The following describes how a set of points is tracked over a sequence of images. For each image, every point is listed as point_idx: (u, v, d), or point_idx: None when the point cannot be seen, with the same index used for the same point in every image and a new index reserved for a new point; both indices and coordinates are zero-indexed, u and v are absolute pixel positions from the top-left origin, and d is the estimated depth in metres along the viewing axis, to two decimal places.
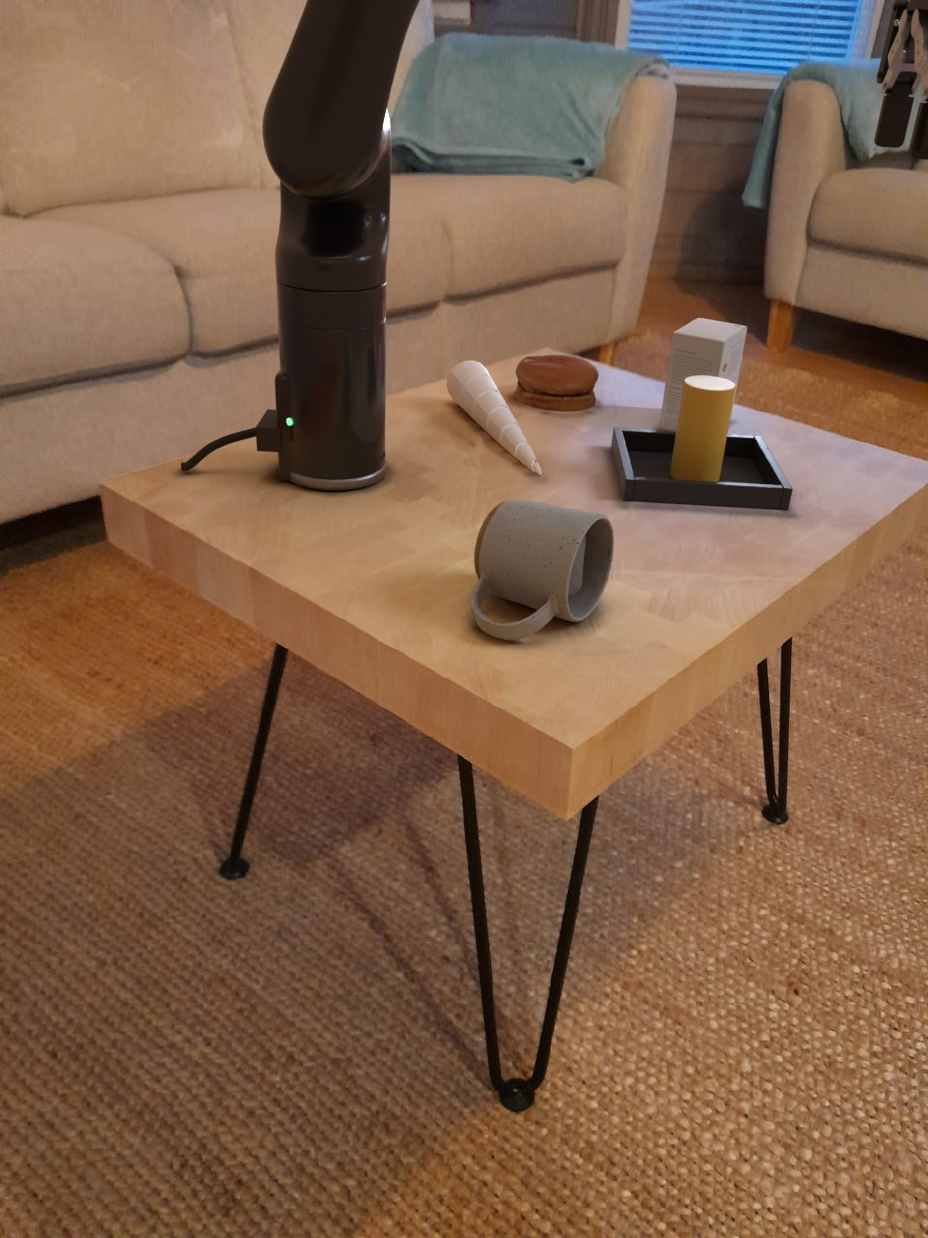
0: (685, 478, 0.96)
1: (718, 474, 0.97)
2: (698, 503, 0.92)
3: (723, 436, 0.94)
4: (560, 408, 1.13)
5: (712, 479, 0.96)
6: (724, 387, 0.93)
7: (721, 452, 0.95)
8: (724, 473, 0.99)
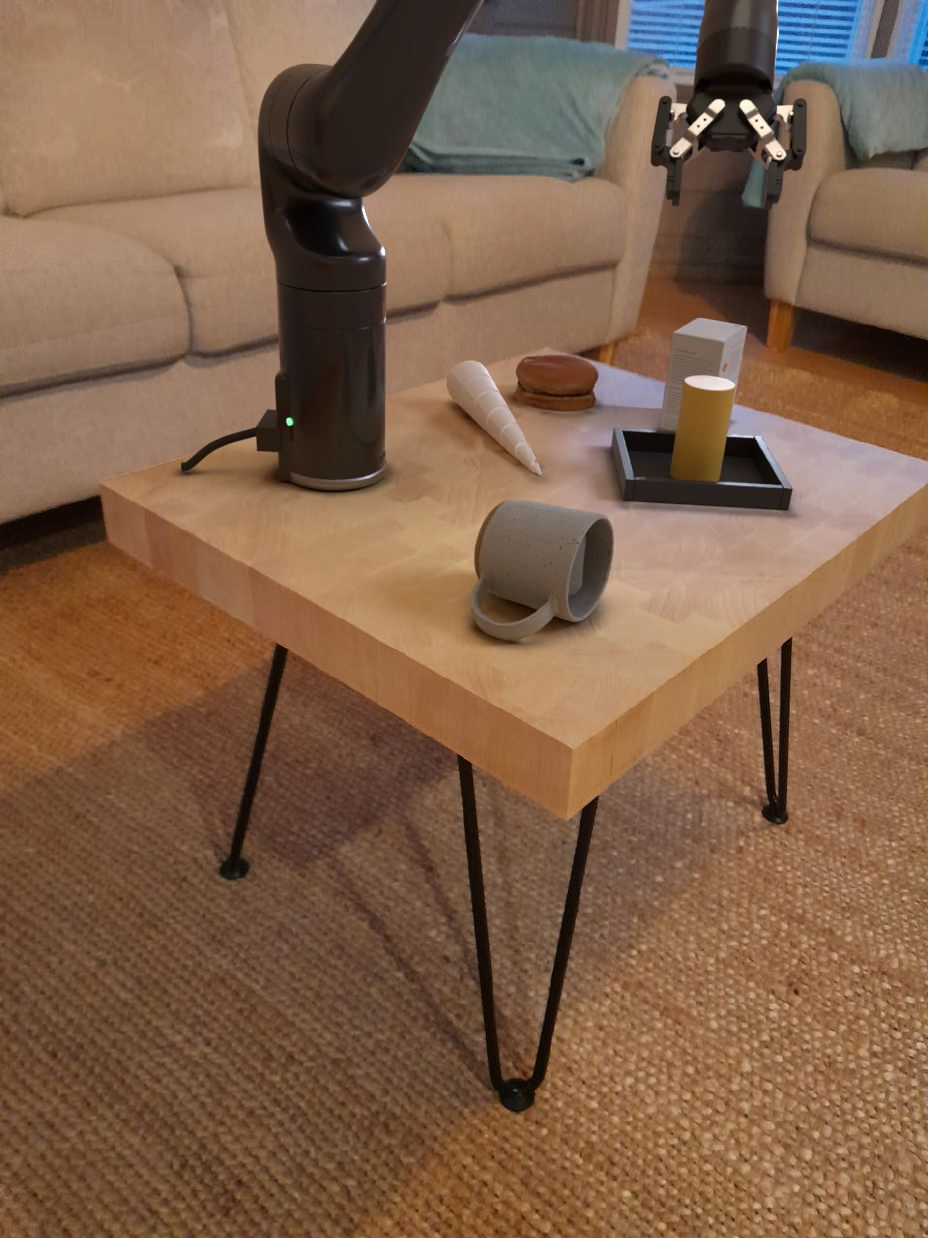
0: (685, 478, 0.96)
1: (718, 474, 0.97)
2: (698, 503, 0.92)
3: (723, 436, 0.94)
4: (560, 408, 1.13)
5: (712, 479, 0.96)
6: (724, 387, 0.93)
7: (721, 452, 0.95)
8: (724, 473, 0.99)
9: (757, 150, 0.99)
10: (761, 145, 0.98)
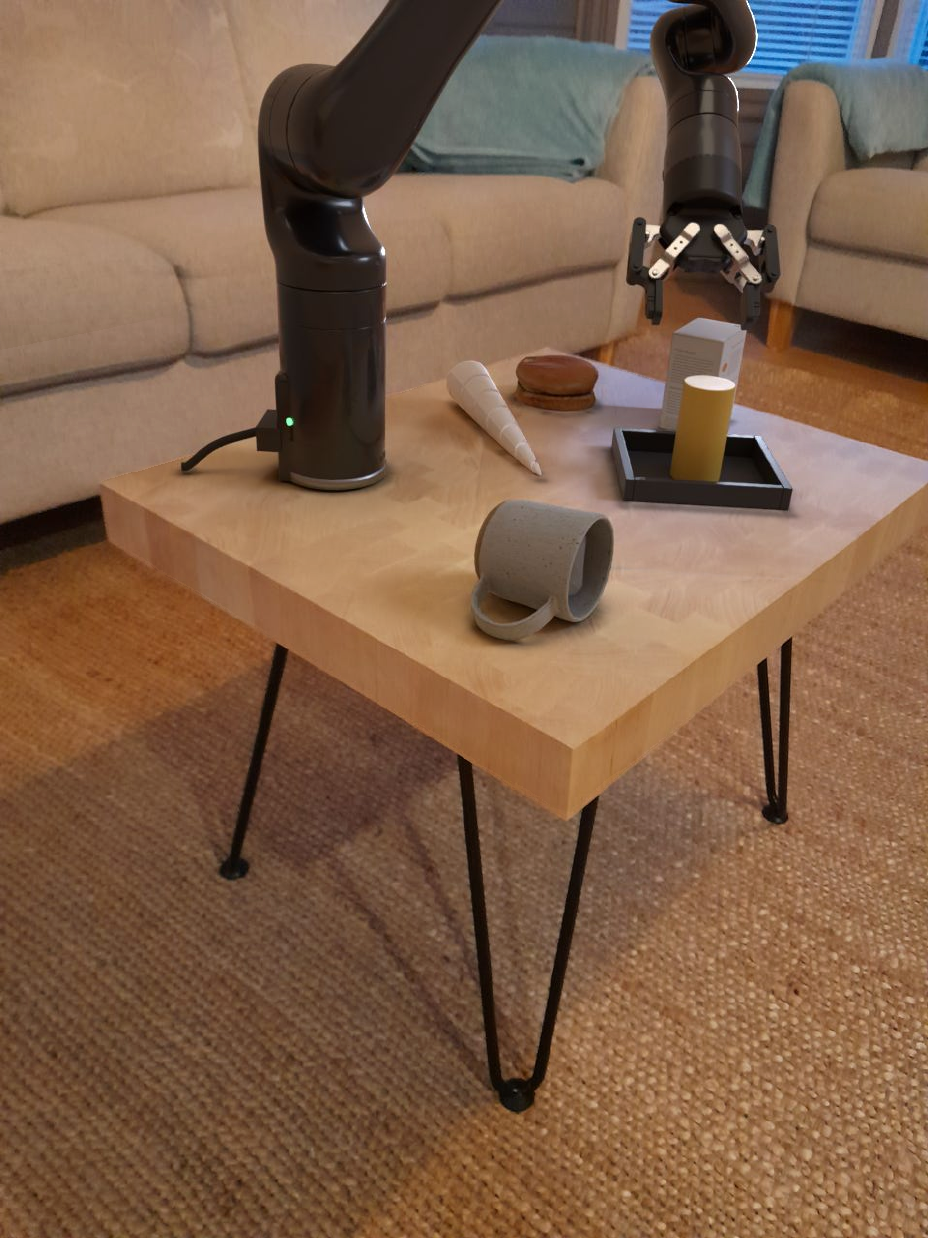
0: (685, 478, 0.96)
1: (718, 474, 0.97)
2: (698, 503, 0.92)
3: (723, 436, 0.94)
4: (560, 408, 1.13)
5: (712, 479, 0.96)
6: (724, 387, 0.93)
7: (721, 452, 0.95)
8: (724, 473, 0.99)
9: (730, 273, 1.00)
10: (736, 268, 0.99)
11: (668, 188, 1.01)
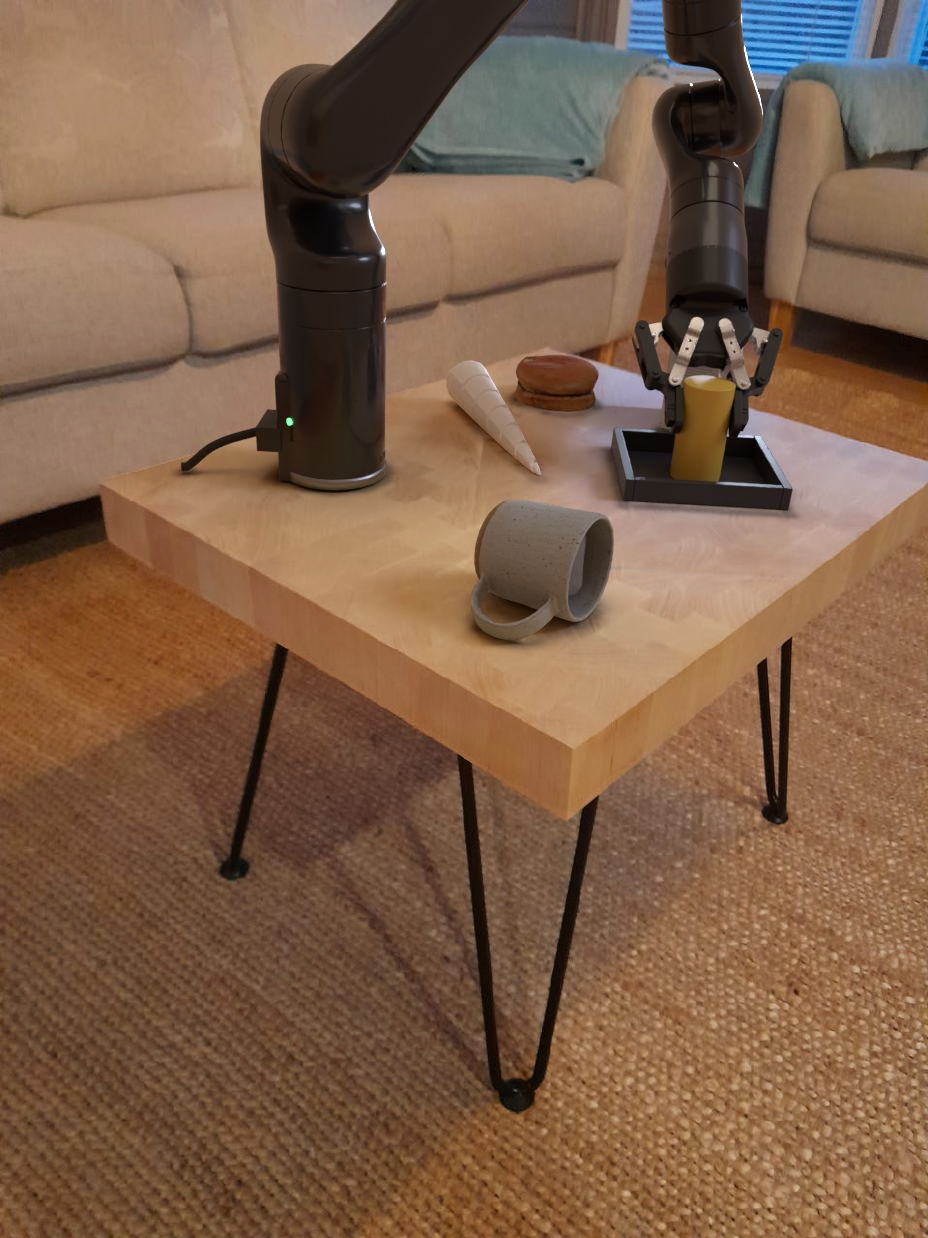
0: (685, 478, 0.96)
1: (718, 474, 0.97)
2: (698, 503, 0.92)
3: (723, 436, 0.94)
4: (560, 408, 1.13)
5: (712, 479, 0.96)
6: (724, 386, 0.93)
7: (721, 452, 0.95)
8: (724, 473, 0.99)
9: (724, 370, 0.96)
10: (729, 368, 0.95)
11: (671, 279, 0.97)
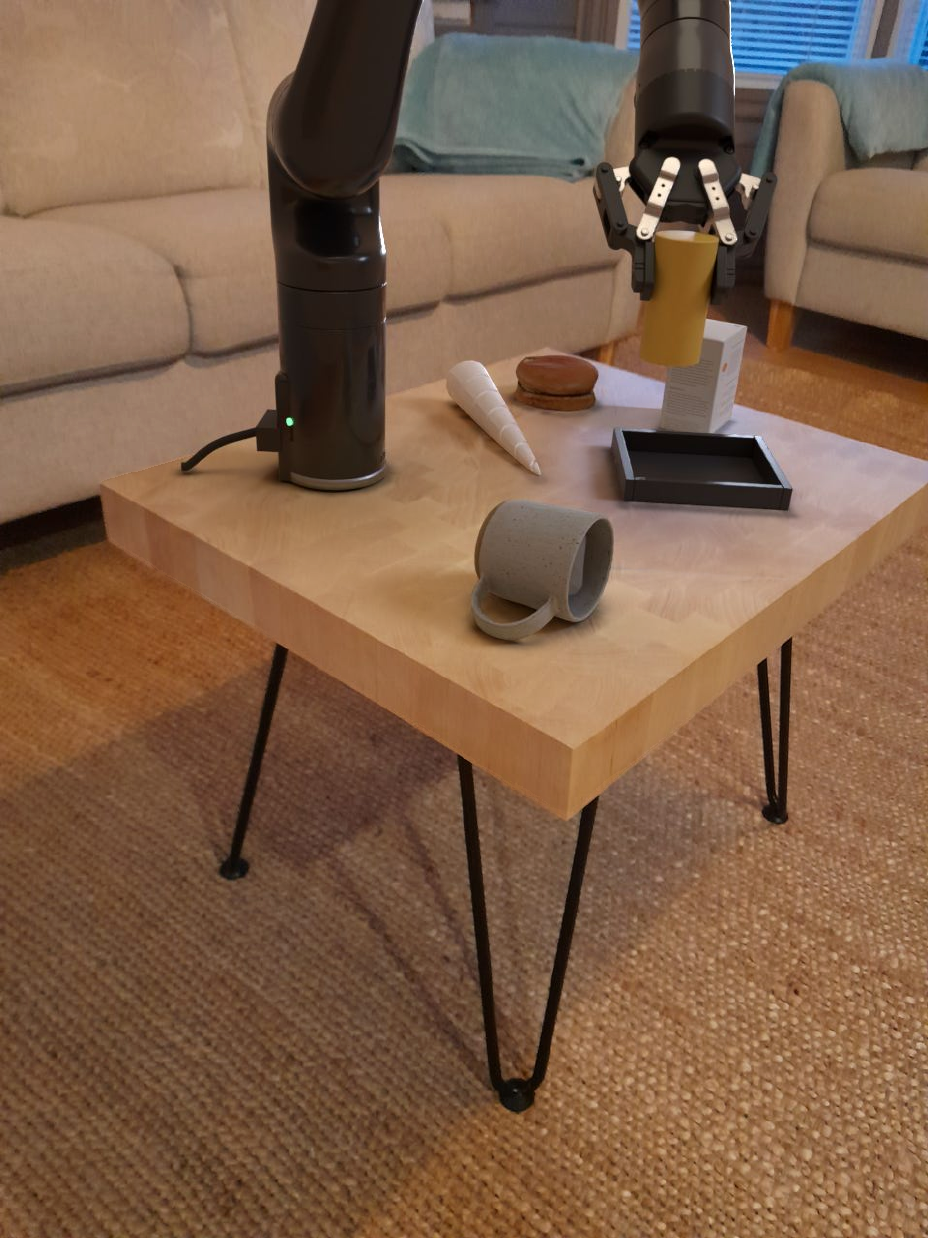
0: (657, 358, 0.78)
1: (698, 354, 0.79)
2: (698, 503, 0.92)
3: (704, 303, 0.77)
4: (560, 408, 1.13)
5: (690, 359, 0.78)
6: (704, 239, 0.75)
7: (701, 325, 0.77)
8: (724, 473, 0.99)
9: (705, 226, 0.78)
10: (711, 220, 0.77)
11: (640, 114, 0.79)
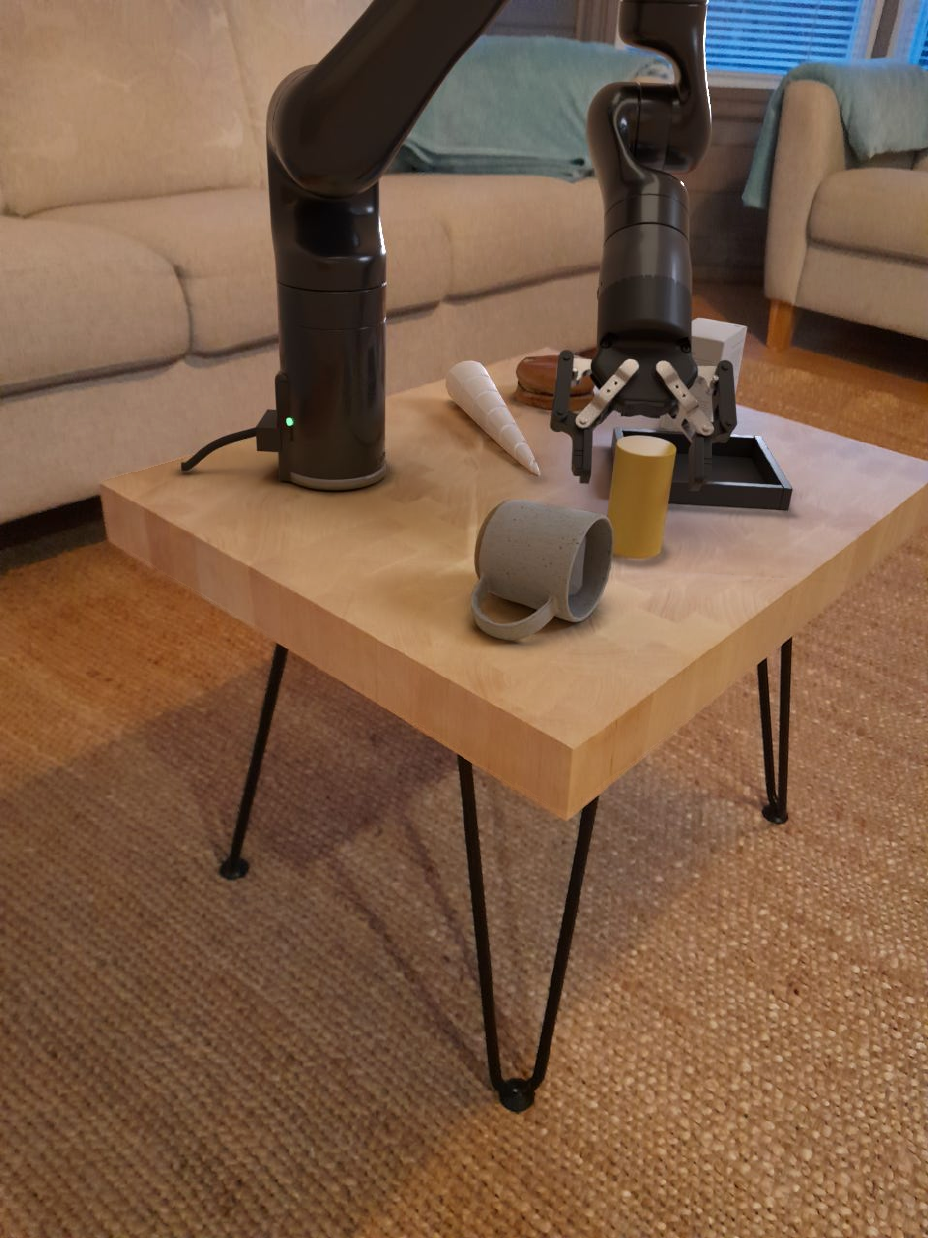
0: (619, 555, 0.83)
1: (658, 550, 0.83)
2: (698, 503, 0.92)
3: (663, 507, 0.81)
4: None
5: (651, 556, 0.83)
6: (662, 451, 0.79)
7: (660, 525, 0.82)
8: (724, 473, 0.99)
9: (676, 418, 0.82)
10: (683, 415, 0.81)
11: (602, 314, 0.83)
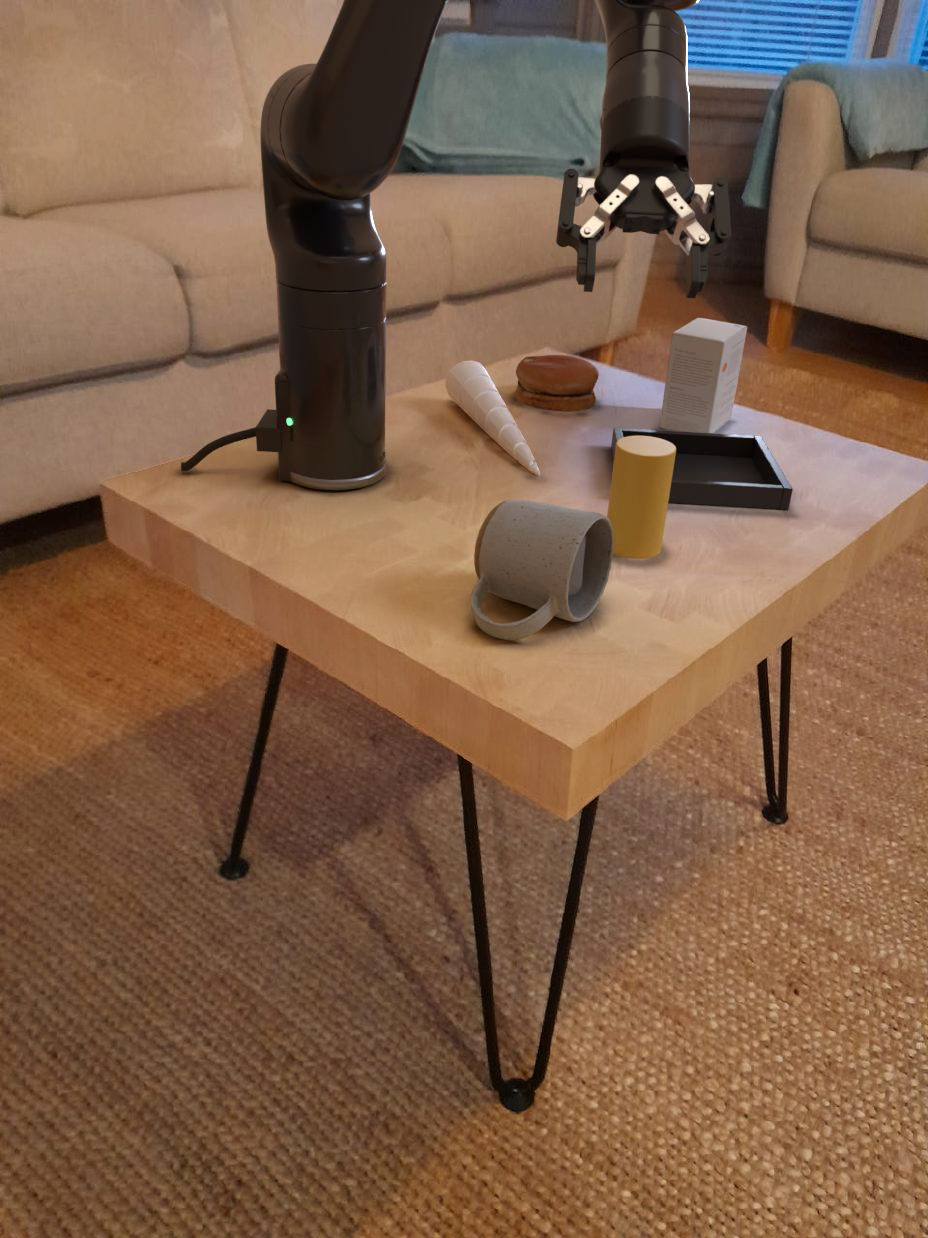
0: (619, 555, 0.83)
1: (658, 550, 0.83)
2: (698, 503, 0.92)
3: (663, 507, 0.81)
4: (560, 408, 1.13)
5: (651, 556, 0.83)
6: (662, 451, 0.79)
7: (660, 525, 0.82)
8: (724, 473, 0.99)
9: (674, 233, 0.88)
10: (681, 227, 0.86)
11: (605, 136, 0.88)
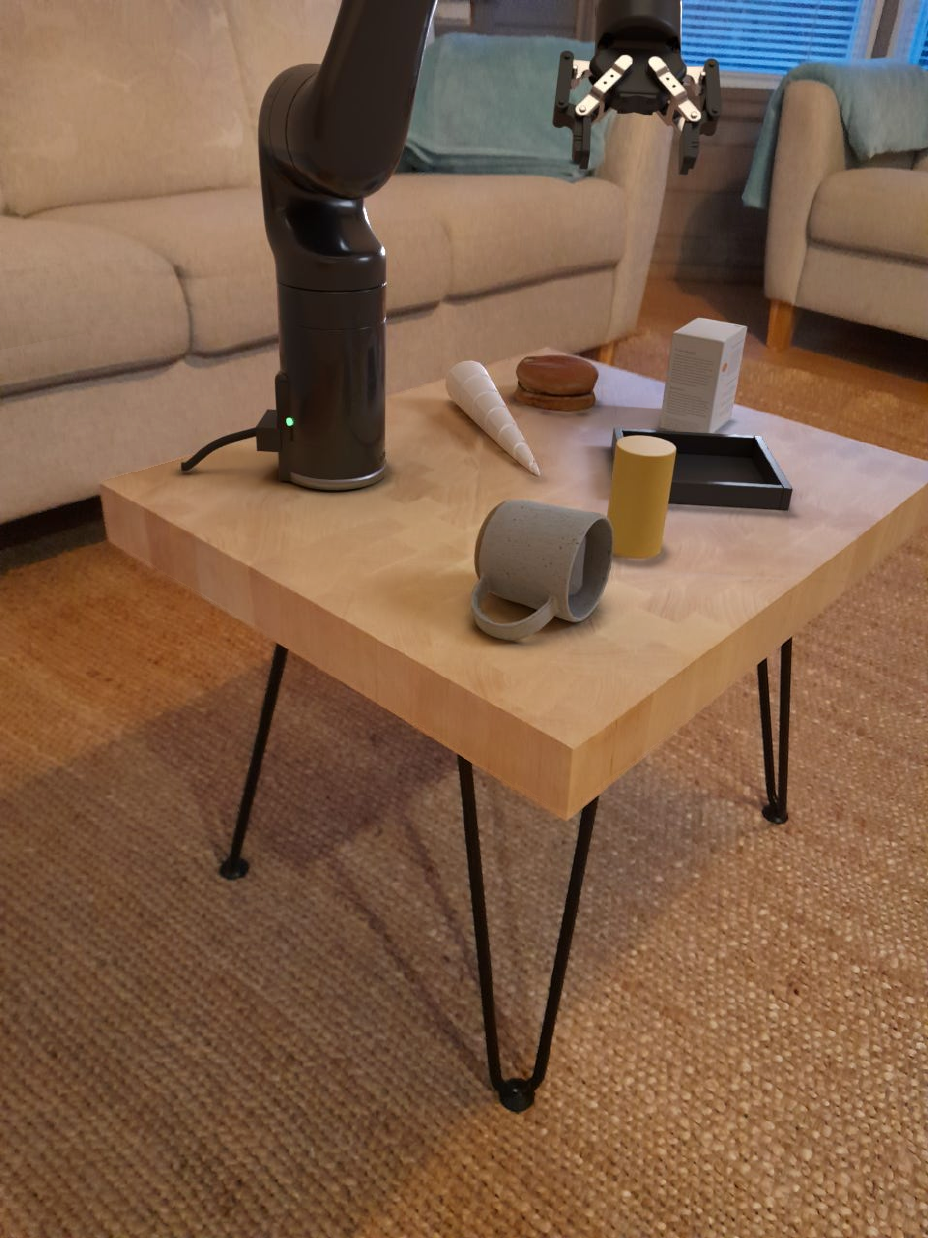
0: (619, 555, 0.83)
1: (658, 550, 0.83)
2: (698, 503, 0.92)
3: (663, 507, 0.81)
4: (560, 408, 1.13)
5: (651, 556, 0.83)
6: (662, 451, 0.79)
7: (660, 525, 0.82)
8: (724, 473, 0.99)
9: (667, 113, 0.90)
10: (673, 106, 0.89)
11: (599, 20, 0.91)
